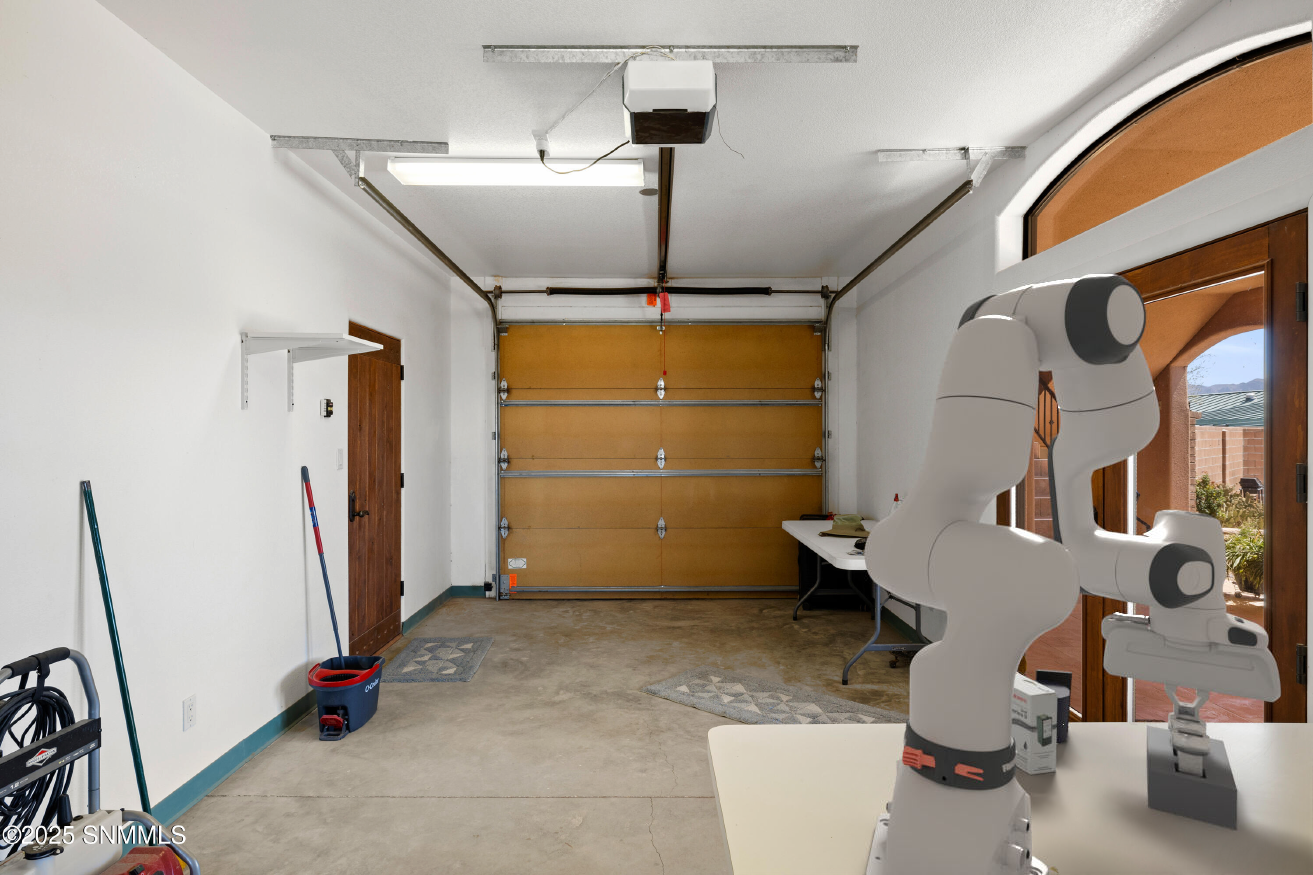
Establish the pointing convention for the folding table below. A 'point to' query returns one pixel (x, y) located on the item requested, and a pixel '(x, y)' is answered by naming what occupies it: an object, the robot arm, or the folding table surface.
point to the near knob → (1190, 749)
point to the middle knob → (1187, 723)
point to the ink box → (1034, 725)
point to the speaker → (1058, 697)
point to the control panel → (1190, 782)
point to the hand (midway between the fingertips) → (1186, 716)
